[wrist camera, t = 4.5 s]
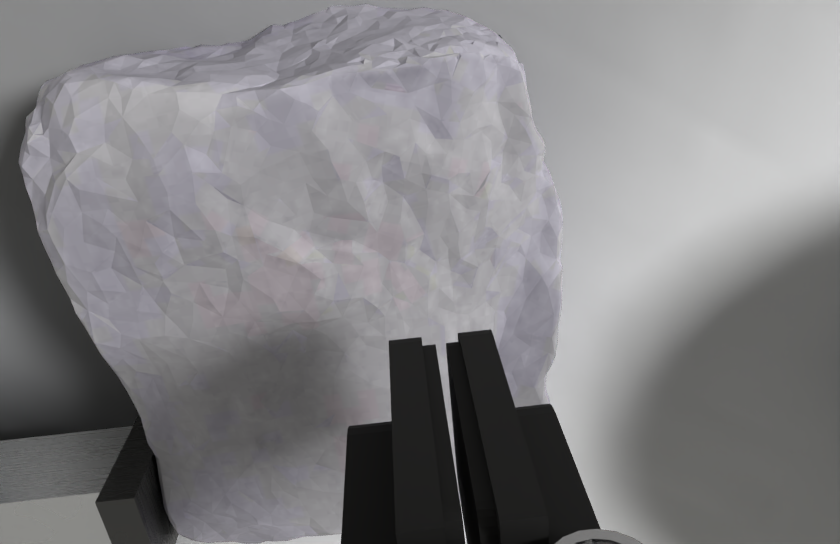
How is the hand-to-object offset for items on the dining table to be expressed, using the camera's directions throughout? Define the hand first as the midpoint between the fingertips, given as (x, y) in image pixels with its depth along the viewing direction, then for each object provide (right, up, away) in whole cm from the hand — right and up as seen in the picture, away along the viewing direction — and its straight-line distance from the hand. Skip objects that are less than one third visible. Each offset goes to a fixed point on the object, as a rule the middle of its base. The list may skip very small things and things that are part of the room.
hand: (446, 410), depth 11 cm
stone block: (-2, +3, +6) cm, 7 cm away
